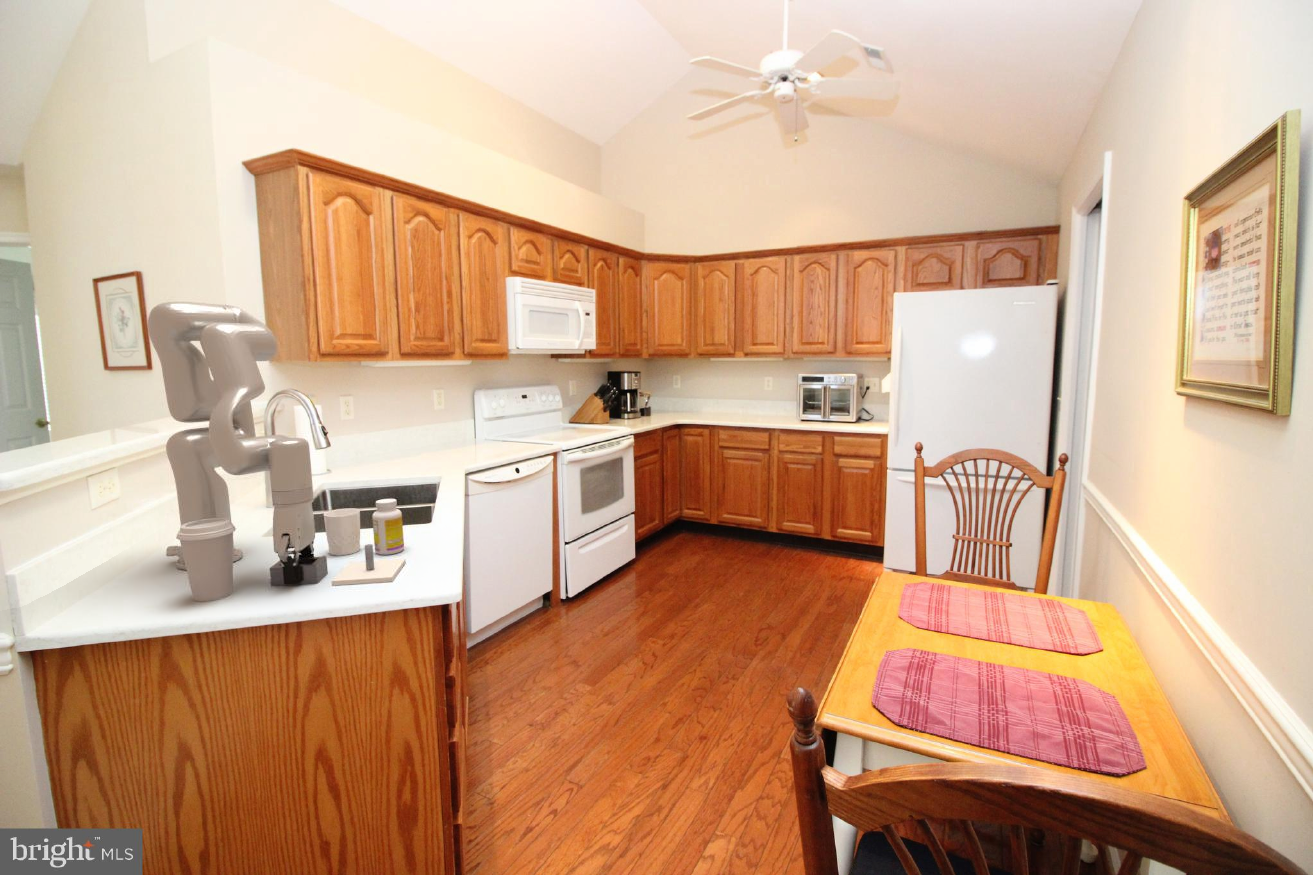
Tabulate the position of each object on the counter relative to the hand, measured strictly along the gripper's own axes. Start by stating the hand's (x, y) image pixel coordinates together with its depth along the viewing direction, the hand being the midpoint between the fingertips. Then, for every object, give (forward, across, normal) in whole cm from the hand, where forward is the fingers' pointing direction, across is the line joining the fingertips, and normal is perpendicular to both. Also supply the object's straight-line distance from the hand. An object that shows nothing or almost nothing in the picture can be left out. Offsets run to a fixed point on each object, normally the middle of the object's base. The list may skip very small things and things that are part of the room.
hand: (300, 576), depth 130 cm
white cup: (+1, -19, +3) cm, 19 cm away
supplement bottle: (+1, -17, +14) cm, 22 cm away
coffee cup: (+1, +6, -14) cm, 15 cm away
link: (+1, 0, 0) cm, 1 cm away
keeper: (+1, -1, +14) cm, 14 cm away
